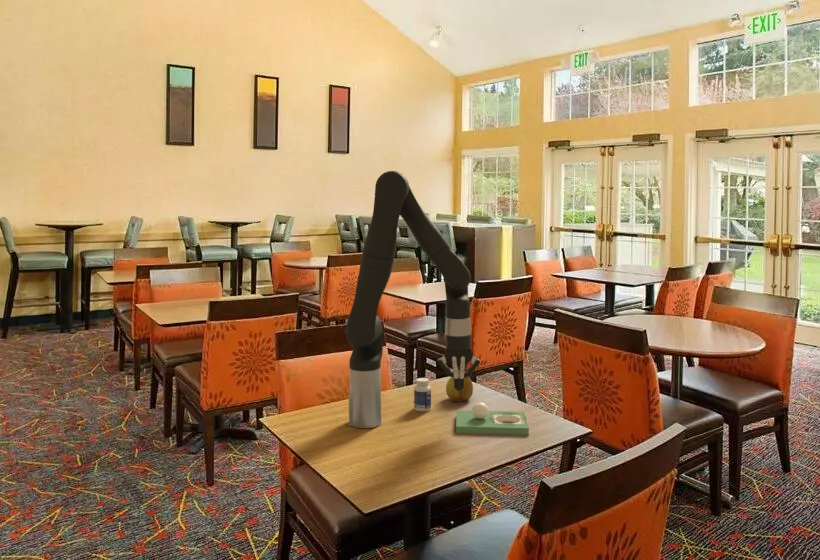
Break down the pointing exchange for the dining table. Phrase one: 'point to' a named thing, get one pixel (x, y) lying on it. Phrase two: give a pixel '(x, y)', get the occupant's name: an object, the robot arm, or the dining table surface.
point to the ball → (480, 410)
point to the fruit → (459, 395)
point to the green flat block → (492, 423)
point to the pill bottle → (422, 395)
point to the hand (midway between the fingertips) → (459, 390)
